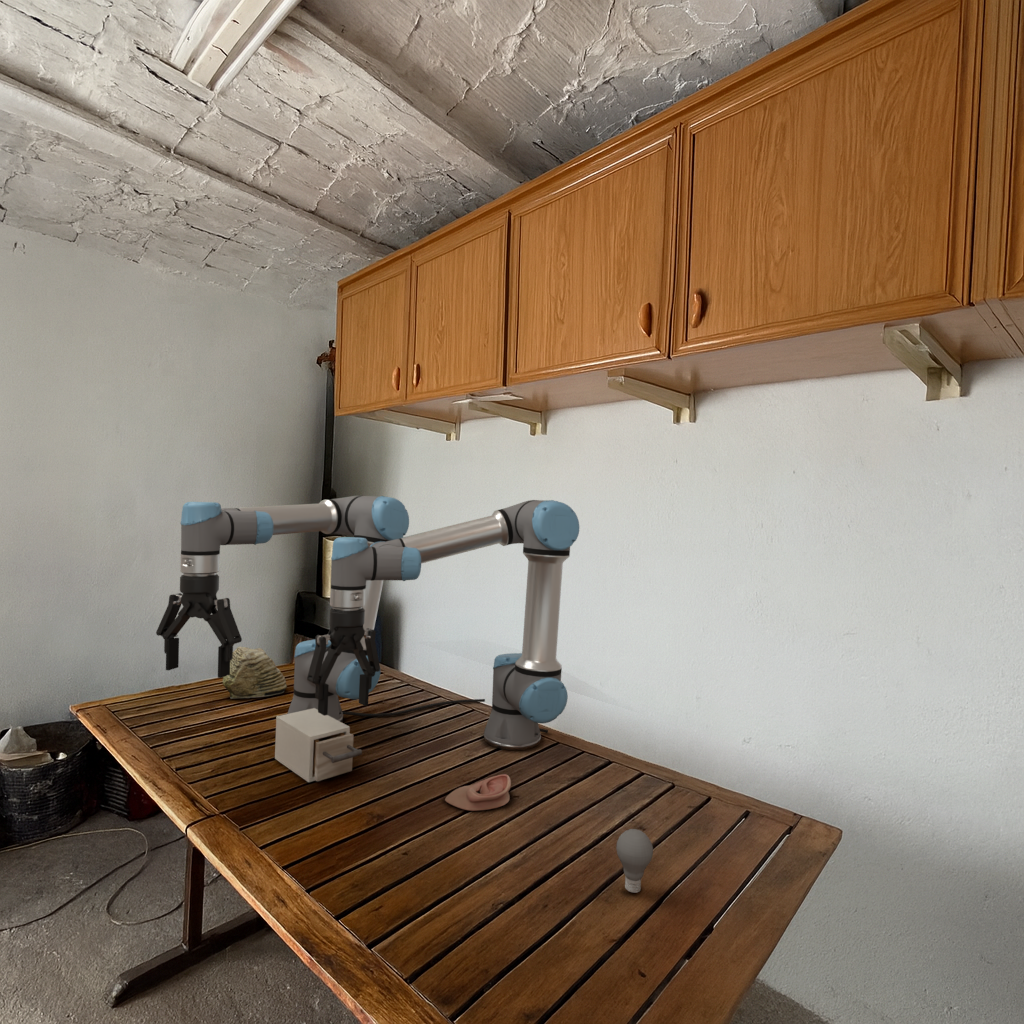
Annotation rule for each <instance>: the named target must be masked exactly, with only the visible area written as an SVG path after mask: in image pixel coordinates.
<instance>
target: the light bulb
mask: <svg viewBox="0 0 1024 1024" xmlns="http://www.w3.org/2000/svg"><path fill="white" fill-rule="evenodd" d="M615 849H616V854H617V857H618V859H619V861H620V863H621V865H622V867H623V873H624V874H623V875H624V876H625V878H624V888H625V890H627V891H628V892H630V893H634V894H635V893H639V892H640V891H641V889H642V887H641V886H642V879H643V877H644V875H645V871H646V868H647V867H648V866H649V864H650V863H651V861H652V859H653V855H654V847H653V843H652V841H651V838H649V836H648V835H647V834H646V833H645V832H643V831H642V830H641V829H636V828H629V829H627V830H625V831H623V832H622V833H621V834H620V835H619V837H618V839H617V841H616V847H615Z"/></svg>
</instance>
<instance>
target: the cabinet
mask: <svg viewBox="0 0 1024 1024" xmlns="http://www.w3.org/2000/svg"><path fill="white" fill-rule="evenodd" d="M350 732H351V726H349V725H347V724H345V723H343V722H340V721H338V720H336V719H334V718H332V717H330V716H328V715H325V716H324V715H322V714H320V713H318V710H317V709H315V708H312V709H308V710H303V711H299V712H294V713H290V714H287V713H286V714H281V715H277V716H276V717H275V741H274V742H275V743H274V760H276V761H277V762H279V763H280V764H281V765H283V766H285V768H288V769H289V770H290V771H292V772H293V773H294V774H295V775H297V776H298V777H300V778H301V779H303V780H304V781H306V782H307V783H312V782H316V780H315V775H314V774H313V750H314V740H316V739H319V738H323V737H327V736H331V735H335V734H339V733H344V735H347V734H350Z"/></svg>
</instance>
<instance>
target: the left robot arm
mask: <svg viewBox="0 0 1024 1024" xmlns="http://www.w3.org/2000/svg"><path fill="white" fill-rule="evenodd" d="M180 517H181V519H180V542H181V543H180V573H181V576H180V577H179V592H178V593H173V594H169V598H168V602H167V603H168V604H167V607H166V609H165V611H164V613H163V616H162V617H161V620H160V622H159V625H158V627H157V629H156V632H155V634H156V636H158V637H159V636H160V637H162V638H163V641H164V646H163V648H164V649H163V652H164V654H165V671H172V670H174V669H177V668H179V663H180V661H179V659H180V656H179V654H180V638H179V635H178V634H179V632H180V631H181V630H182V629H183V627H184V626H185V625H186V623H187V622H188V621H189V620H190V619H191V618H197V619H203V621H205V622H207V624H208V625H209V627H210V629H211V630H212V632H213V633H214V635H215V636H216V638H217V639H218V641H219V643H220V646H218V648H217V650H218V652H217V678H218V679H223V677H225V676H227V675H230V661H231V660H232V658H233V652H234V645H236V644H239V643H242V641H243V639H242V636H241V632H240V630H239V628H238V625H237V622H236V620H235V617H234V615H233V611H232V608H231V600H230V598H229V597H224V598H218V597H217V593H218V591H220V575H219V574H217V573H219V572H220V570H221V569H220V568H221V567H220V563H221V560H220V558H221V556H220V555H221V546H233V545H234V546H235V545H237V546H238V545H254V546H256V545H257V544H258V545H259V544H266V543H268V542H270V541H271V539H272V537H273V536H279V535H288V534H289V535H291V534H301V533H312V532H321V533H323V534H325V535H331V534H336V535H337V534H338V535H346V536H351V537H358V538H365V539H367V541H368V546H370V545H372V544H373V543H375V542H379V541H385V542H386V541H391V540H395V539H400V538H403V537H405V536H406V535H407V533H408V531H409V527H410V516H409V512H408V510H407V508H406V506H405V504H404V503H403V502H402V501H401V500H400V499H397V498H395V497H392V496H391V497H390V496H384V495H381V496H380V495H379V496H378V495H351V496H345V497H339V498H331V499H323V500H321V501H319V502H318V503H303V504H285V505H283V504H282V505H266V506H265V505H264V506H245V507H243V506H242V507H227V508H226V507H225V508H222V505H221V503H219V502H215V501H187V502H185V503H184V504H183V505H182V509H181V516H180ZM384 581H385V580H373V581H370V580H367V581H366V590H365V606H363V607H362V608H364V610H365V620H364V625H363V628H364V630H366V629H367V628H369V629H372V630H375V627H376V622H377V621H376V620H377V616H378V610H379V607H380V606H379V605H380V600H381V596H382V589H383V586H384ZM181 607H182V608H181ZM360 642H361V644H362V646H363V648H364V649H363V651H364V653H365V655H366V657H367V659H368V655H367V650H366V645H365V638H364V636H363V637H362V639H361V641H360ZM330 644H331V642H330V640H329V641H328V645H326V652H325V655H324V659H323V662H324V660H325V657H326V655H327V653H328V648H329V646H330ZM315 646H316V643H315V639H308V640H304V641H300V642H299V643H298V644H297V645H296V646H295V650H294V655H293V657H294V672H293V673H294V674H293V695H292V696H293V697H292V699H291V702H290V704H289V708H288V711H287V713H286V714H290V713H294V712H299V711H303V710H308V709H312V708H315V709H317V710H318V699H316V697H315V689H316V684H314V683H311V682H309V681H308V680H307V677H308V673H309V669H310V665H311V662H312V658H313V654H314V650H315ZM335 650H336V649H335ZM322 664H323V663H322ZM361 674H364V673H363V671H362V669H361V667H360V665H359V662H358V660H357V658H356V656H355V654H354V652H353V650H346V651H342V652H341V654H340V655H339V656H338V658H337V660H336V662H335V664H334V666H333V668H332V670H331V672H330V674H329V676H328V678H327V680H326V682H325V683H326V684H328V685H329V688H328V714H327V715H328V716H330V717H332V718H334V719H336V720H338V721H340V722H342V723H343V722H344V715H345V716H355V717H368V718H370V717H371V718H373V717H374V718H377V717H378V718H379V717H380V718H381V717H392V716H393V717H394V716H399V715H404V714H407V713H412V712H416V711H421V710H424V709H428V708H429V709H430V708H433V707H438V706H443V705H452V704H461V703H485V702H486V699H485V698H477V699H475V698H473V699H472V698H471V699H470V698H469V699H457V700H455V699H454V700H447V701H440V702H436V703H435V702H434V703H430V704H426V705H421V706H417V707H413V708H409V709H404V710H400V711H394V712H384V713H382V712H381V713H366V712H365V713H364V712H363V713H362V712H354V711H343V709H342V706H341V702H340V699H339V697H340V698H343V699H349V700H356V701H357V700H359V683H360V675H361ZM380 677H381V670H380V671H378V672H377V671H376V672H375V676H373V677H372V687H371V689H369V693H371V692H372V691H373V690H374V689H375V688H376V686H377V685H378V684H379V683H378V682H379V681H380Z"/></svg>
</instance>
